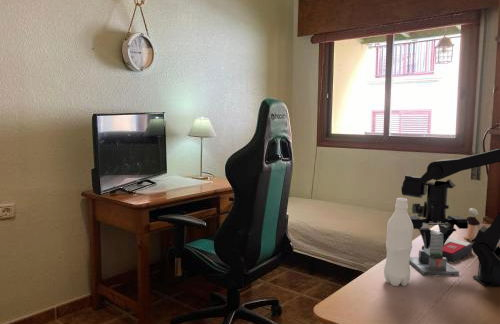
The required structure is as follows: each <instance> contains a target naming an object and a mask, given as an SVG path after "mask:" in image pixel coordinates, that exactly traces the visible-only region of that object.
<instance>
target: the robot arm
mask: <svg viewBox="0 0 500 324" xmlns="http://www.w3.org/2000/svg"><path fill="white" fill-rule="evenodd" d="M496 163H500V148H496V149H493V150H489V151H486V152H481V153H476V154H473V155H469V156H464V157H461V158H445V159H438V160H435V161H433V162H430V163H429V164H428V166H427V167H426V171H425V173H424V174H422V175H421V176H416V175H415V176H414V175H411V174H405V176H404V180H403V182H402V185H401V194H402V196H405V197H410V198H411V197H412V198H418V199H422V198H423V197H424V196H426V201H424V203H423V205H421V204H420V203H412V205H411V206H412V208H411V210H412V211H411V213H412V214H413V215H409V217H410V219H411V221H412V224H413V230H415V229H416V230H418V231H419V233H420V236H421V238H422V243H423V246H425V248H426V249H428V246H429V240H430V232H431V229H430V228H429V226H431V225H432V226H438V229H439V230H438V231H439V232H441V233H443V234H444V237H443V245H444V244H445V242H446V241H447V239H448V238H450V237H451V235H452V234H453V233H454V232H457V229H460V230H463V229H465V230H467V229H468V224H469V223H468V221H467V218H464V217H463V216H461V215H448V216H447V217H446V214H447V210H448V209H450V206H449V205H448V204H447V203H448V191H449V189H453V188H455V187H456V184H455V183H454V182H452V180H451V179H447V180H445V181H443V180H442V179H445V178H447V177H450V176H452V175H455V174H457V173H459V172H462V171H467V170H470V169H471V170H472V169H475V168H479V167H483V166H488V165H491V164H496ZM432 180H434V181H435V182H430V181H432ZM414 214H417V215H414ZM420 217H421V218H420ZM455 226H456V227H457V229H456V228H455ZM480 227H481V228H480V229H478V231H477V233H476V234H475V237H474V238H473V239H472V241H471V242H472V243H471V244H472V253H473V254H474V255H475V256H477V260H478V271H477V275H473V276H472V278H473V279H475V280H476V281H477V282H478V283H480V284H482V285H483V286H485V287H500V246H499V245H500V211H499V212H498V213H497V215H496V216H495V218H494V220H493V221H492V223H491V224H490V225H489V226H488V227H486V226H485V225H482V226H480Z"/></svg>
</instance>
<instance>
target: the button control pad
mask: <svg viewBox="0 0 500 324" xmlns="http://www.w3.org/2000/svg"><path fill="white" fill-rule="evenodd" d="M472 244H473V243H470V242H467V241H464V240H459V239H456V238H451V237H449V238H448V239H447V241H446V242H445V244H444V245H443V250H442V256H443V257H445V258H446V259H447V263H448V262H449V263H451V264H453V263H455V262H459V260H461V259H463V258H464V257H466V256H469V255H471V254H472V253H473V250H472ZM421 250H424V245H422V246H421Z"/></svg>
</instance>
